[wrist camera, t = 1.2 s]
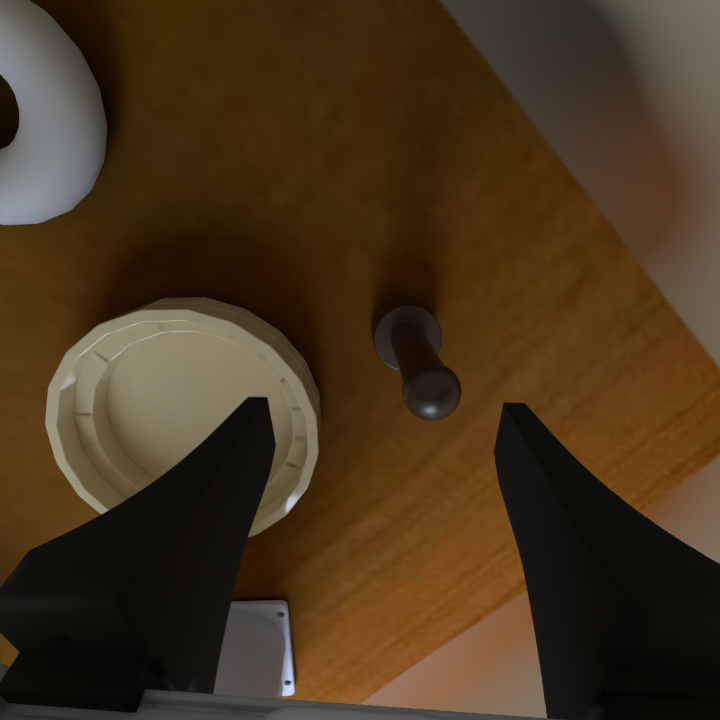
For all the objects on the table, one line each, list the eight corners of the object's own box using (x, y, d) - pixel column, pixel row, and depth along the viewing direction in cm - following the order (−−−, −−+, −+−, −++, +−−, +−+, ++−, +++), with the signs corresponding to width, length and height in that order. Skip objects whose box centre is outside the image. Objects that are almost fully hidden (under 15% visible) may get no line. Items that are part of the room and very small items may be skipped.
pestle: (432, 355, 26) (483, 447, 16) (371, 357, 26) (386, 449, 16) (434, 295, 25) (491, 354, 15) (371, 296, 25) (386, 356, 15)
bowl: (326, 504, 29) (323, 542, 26) (110, 511, 29) (80, 550, 26) (315, 292, 24) (310, 306, 21) (58, 298, 24) (12, 312, 21)
